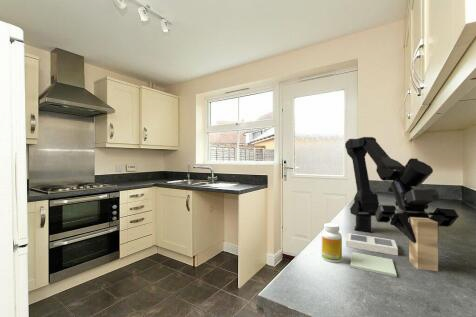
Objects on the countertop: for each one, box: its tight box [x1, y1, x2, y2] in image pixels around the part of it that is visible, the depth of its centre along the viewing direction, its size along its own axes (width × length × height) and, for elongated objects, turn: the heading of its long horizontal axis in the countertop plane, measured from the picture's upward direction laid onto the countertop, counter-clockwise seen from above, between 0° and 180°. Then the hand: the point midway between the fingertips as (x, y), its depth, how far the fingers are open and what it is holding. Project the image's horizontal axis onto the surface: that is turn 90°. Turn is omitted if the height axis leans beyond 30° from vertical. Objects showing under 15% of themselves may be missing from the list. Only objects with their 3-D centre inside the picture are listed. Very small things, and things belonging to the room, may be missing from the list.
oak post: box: [408, 217, 439, 272], centre depth 60 cm, size 4×4×12 cm
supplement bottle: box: [321, 222, 343, 263], centre depth 64 cm, size 5×5×10 cm
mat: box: [350, 251, 398, 278], centre depth 61 cm, size 10×10×1 cm
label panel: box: [345, 232, 399, 256], centre depth 74 cm, size 9×14×2 cm, turn 61°
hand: (425, 243), depth 59 cm, fingers open, 5 cm apart
